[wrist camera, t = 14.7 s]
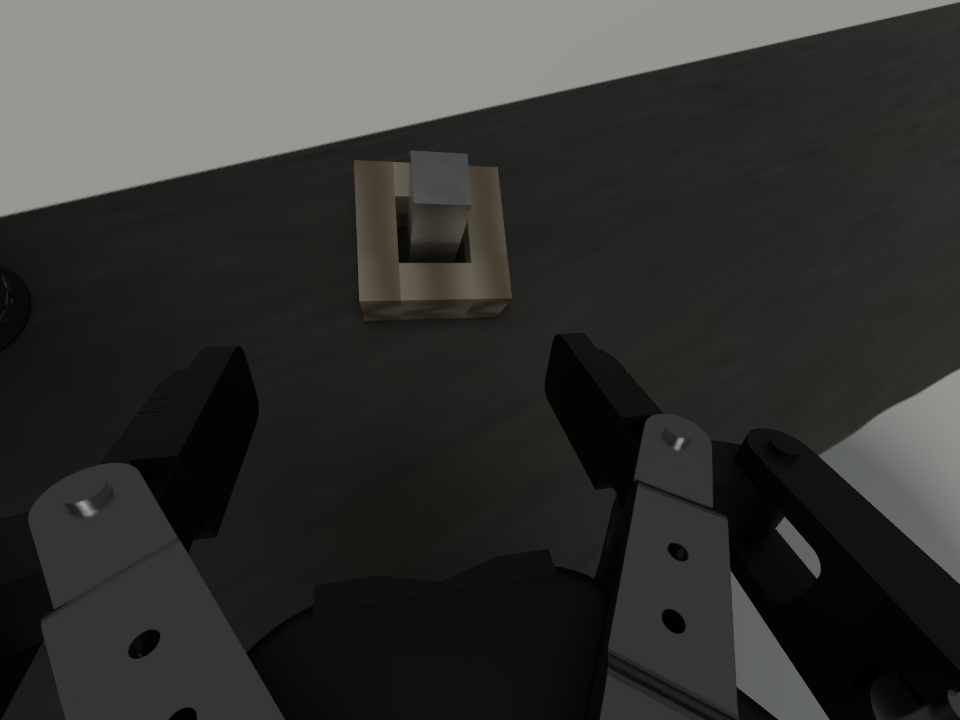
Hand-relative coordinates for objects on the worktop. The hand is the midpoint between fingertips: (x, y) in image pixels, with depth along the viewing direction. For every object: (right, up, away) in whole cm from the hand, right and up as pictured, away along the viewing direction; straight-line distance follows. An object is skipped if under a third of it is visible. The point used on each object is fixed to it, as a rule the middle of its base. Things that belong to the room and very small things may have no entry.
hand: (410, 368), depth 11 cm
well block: (-4, +11, +34) cm, 36 cm away
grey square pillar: (-4, +11, +33) cm, 36 cm away
